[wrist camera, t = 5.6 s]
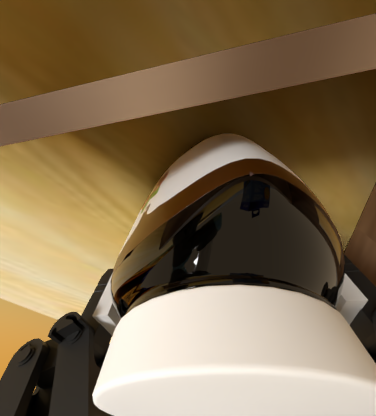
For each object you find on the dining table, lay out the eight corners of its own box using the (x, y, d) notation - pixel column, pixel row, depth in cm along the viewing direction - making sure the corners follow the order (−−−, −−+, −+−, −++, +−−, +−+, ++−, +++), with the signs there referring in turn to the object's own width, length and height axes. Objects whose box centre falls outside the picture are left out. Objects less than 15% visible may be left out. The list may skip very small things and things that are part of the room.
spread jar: (222, 104, 11) (589, 174, 1) (308, 210, 15) (542, 440, 5) (121, 216, 15) (-5, 417, 6) (206, 272, 19) (218, 448, 10)
